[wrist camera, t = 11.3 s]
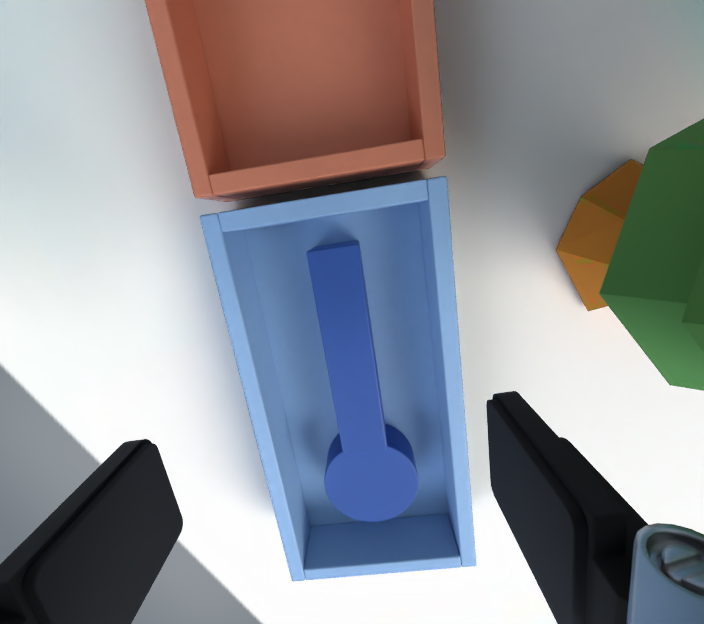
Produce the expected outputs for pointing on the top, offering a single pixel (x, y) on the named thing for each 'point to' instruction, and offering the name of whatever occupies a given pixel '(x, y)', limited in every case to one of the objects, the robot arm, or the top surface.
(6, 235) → the top surface
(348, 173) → the red bin
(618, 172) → the decorative tree
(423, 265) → the blue bin
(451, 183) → the top surface
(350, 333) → the blue spoon
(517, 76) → the top surface
